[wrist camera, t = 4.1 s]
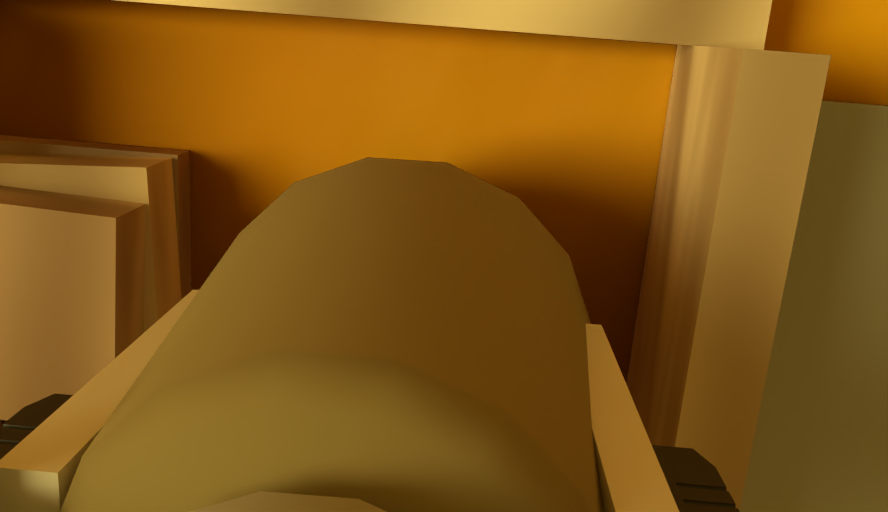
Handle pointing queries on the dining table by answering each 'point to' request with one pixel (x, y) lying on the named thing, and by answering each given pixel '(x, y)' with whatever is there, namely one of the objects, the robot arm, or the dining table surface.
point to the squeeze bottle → (365, 363)
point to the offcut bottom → (103, 149)
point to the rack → (681, 194)
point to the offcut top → (65, 290)
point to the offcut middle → (124, 183)
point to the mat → (831, 333)
